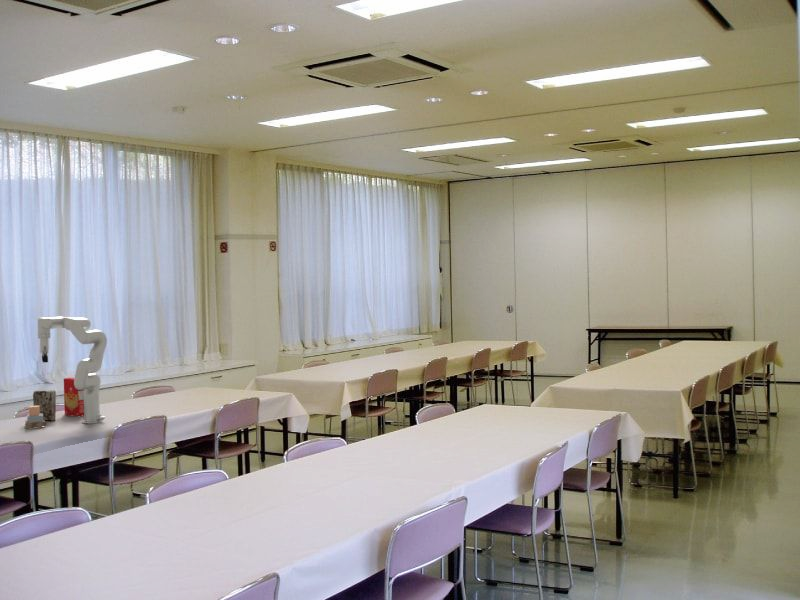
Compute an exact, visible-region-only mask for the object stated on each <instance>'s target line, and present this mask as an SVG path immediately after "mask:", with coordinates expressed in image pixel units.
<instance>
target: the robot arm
mask: <svg viewBox="0 0 800 600" xmlns="http://www.w3.org/2000/svg"><path fill="white" fill-rule="evenodd" d="M90 328H91V321H90V320H89V319H88V318H85V317H74V316H73V317H70V316H53V317H46V316H45V317H38V318H37V339H39V354H41V361H42V363H49V355H48V353H49V347H50V345H49V344H50V342H49V341H50V340H49V339H51V329H52V330H53V329H66V330H67V331H70V332H71V334H72V335H73V337H74V338H75V339H76V340H77V341H78V342H79V343H80V344H82V345H92V344H93V346H92V347H91V349H90V351H89V355H88V358H84V359H82V360H80V361H79V362H78V363H77V365H76V370H75V374H74V377H73V378H74V386H75V388H76V389H78V390H85V392H84V416H83V417H84V419H82V420H81V423H82V424H86V423H89V424H96V423H97V424H98V423H102V422H103V421H104V420H105V416H102V414H101V413H100V409H101V408H100V387H101V377H100V376H99V374H97V373H98V372H99V371H100V370H101V368H102V364H103V359H104V354H105V351H106V347H107V344H108V338H107V335H106V333H105V332H103V331H102V330H99V329H93V330H89V329H90Z"/></svg>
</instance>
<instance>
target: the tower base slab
mask: <svg viewBox="0 0 800 600" xmlns="http://www.w3.org/2000/svg"><path fill="white" fill-rule="evenodd" d="M42 426H45V427H46V421H45V420H44V419H43V422H34V423H28V422H27V420H25V429H26V428H31V429H35V428H34V427H42Z"/></svg>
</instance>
